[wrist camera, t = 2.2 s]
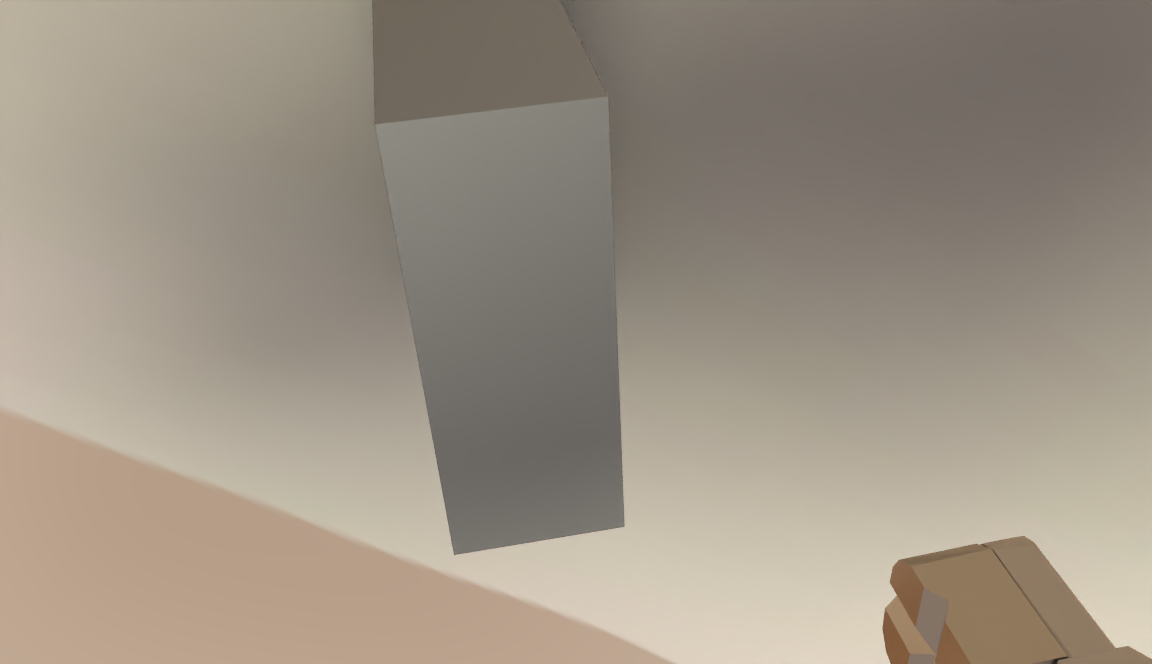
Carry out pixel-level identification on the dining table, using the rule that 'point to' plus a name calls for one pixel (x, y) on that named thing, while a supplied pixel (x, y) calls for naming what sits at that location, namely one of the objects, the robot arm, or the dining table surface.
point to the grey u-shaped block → (505, 260)
